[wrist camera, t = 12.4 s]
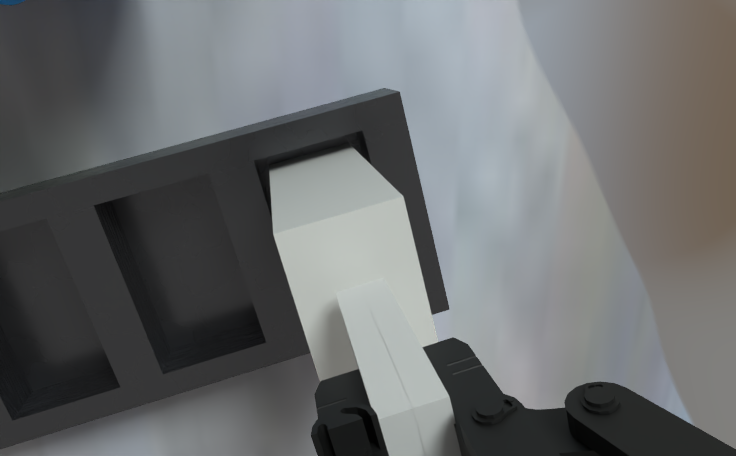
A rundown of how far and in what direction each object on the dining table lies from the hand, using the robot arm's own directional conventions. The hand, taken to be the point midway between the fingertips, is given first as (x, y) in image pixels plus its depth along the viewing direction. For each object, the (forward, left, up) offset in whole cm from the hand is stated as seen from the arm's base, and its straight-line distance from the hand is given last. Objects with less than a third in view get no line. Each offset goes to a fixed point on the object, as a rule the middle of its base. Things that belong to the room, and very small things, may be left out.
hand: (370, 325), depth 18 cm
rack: (0, -7, -14) cm, 15 cm away
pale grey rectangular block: (0, 0, -13) cm, 13 cm away
